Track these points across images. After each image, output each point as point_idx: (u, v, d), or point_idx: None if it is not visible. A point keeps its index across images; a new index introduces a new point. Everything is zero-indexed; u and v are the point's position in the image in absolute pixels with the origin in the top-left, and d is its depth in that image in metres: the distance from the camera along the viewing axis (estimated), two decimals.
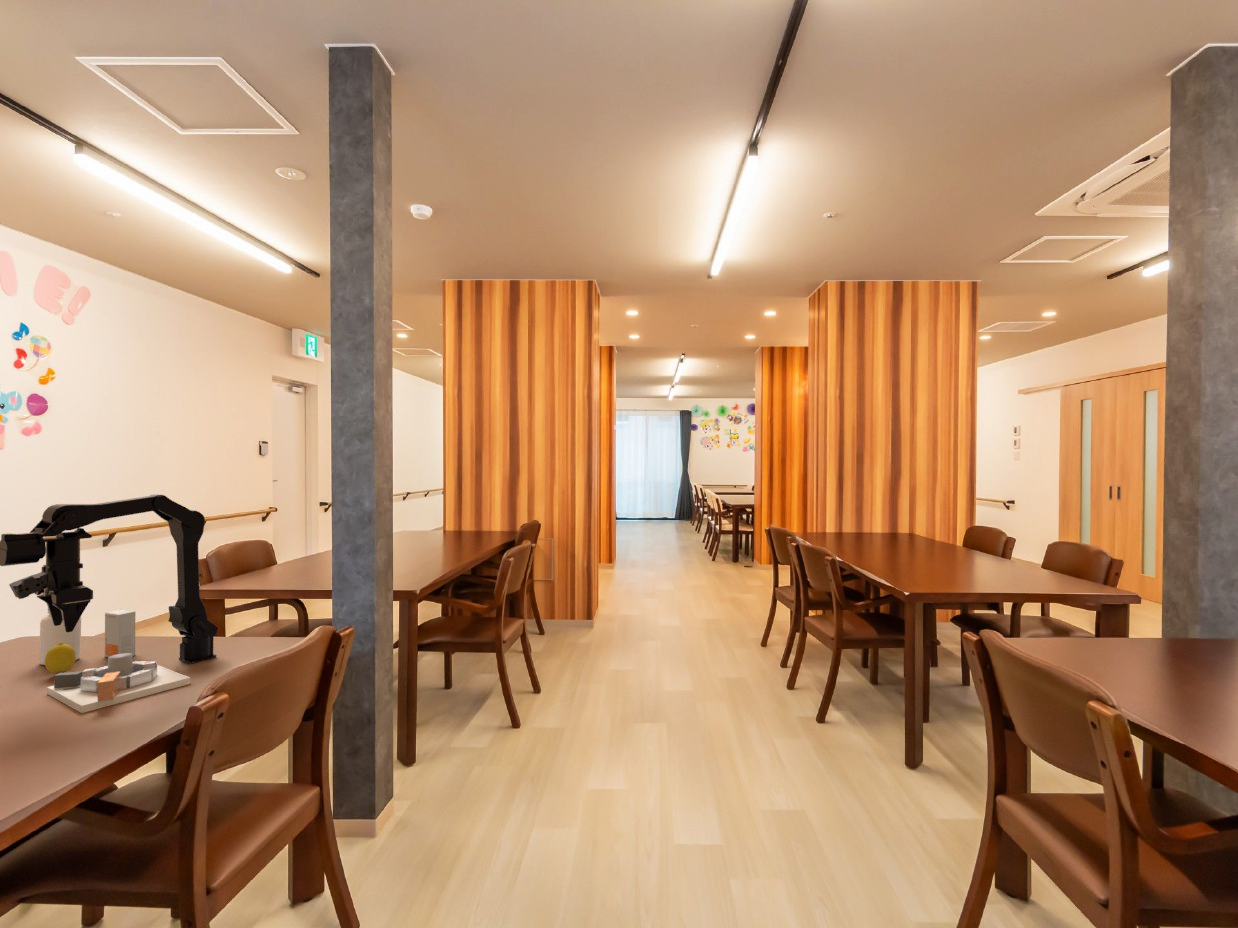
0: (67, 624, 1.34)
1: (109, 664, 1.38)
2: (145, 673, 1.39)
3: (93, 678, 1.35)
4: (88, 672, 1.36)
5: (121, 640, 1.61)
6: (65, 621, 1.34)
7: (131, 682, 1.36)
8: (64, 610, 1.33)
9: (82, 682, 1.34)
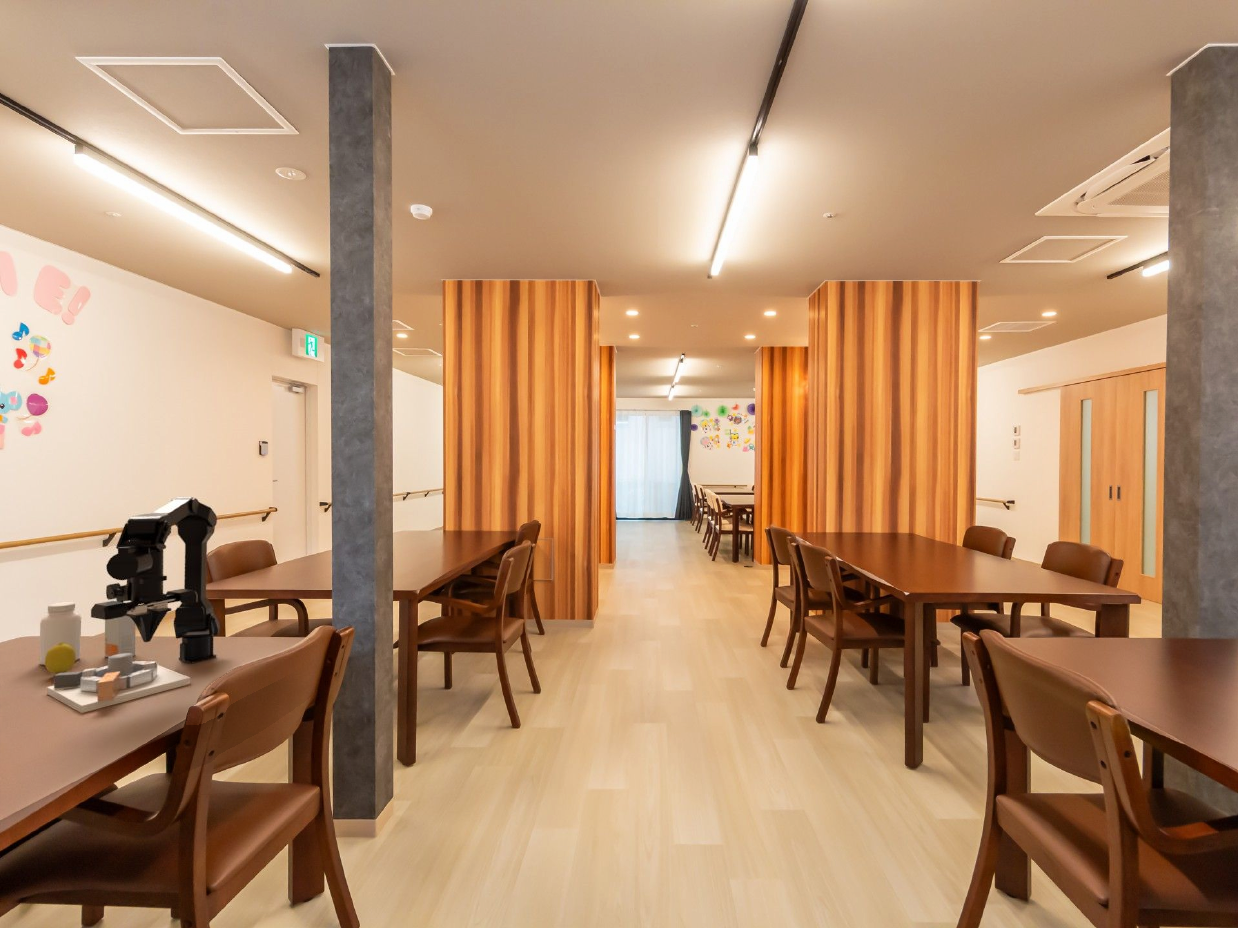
0: (141, 634, 1.35)
1: (109, 664, 1.38)
2: (145, 673, 1.39)
3: (93, 678, 1.35)
4: (88, 672, 1.36)
5: (121, 640, 1.61)
6: (140, 630, 1.35)
7: (131, 682, 1.36)
8: (133, 619, 1.35)
9: (82, 682, 1.34)
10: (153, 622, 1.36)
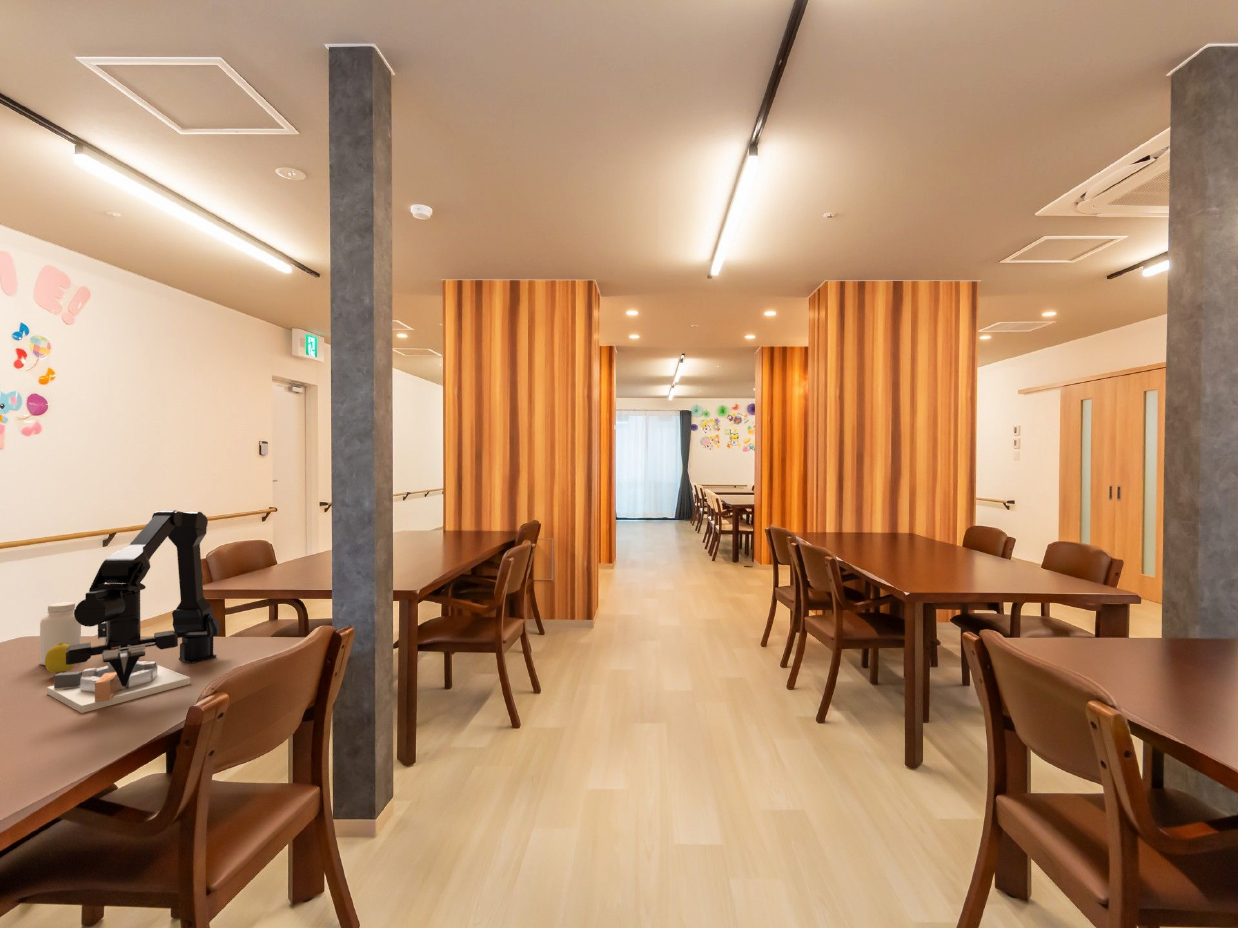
0: None
1: (109, 664, 1.38)
2: (144, 673, 1.39)
3: (92, 678, 1.35)
4: (88, 672, 1.37)
5: None
6: None
7: (130, 682, 1.36)
8: None
9: (82, 682, 1.34)
10: (126, 667, 1.32)
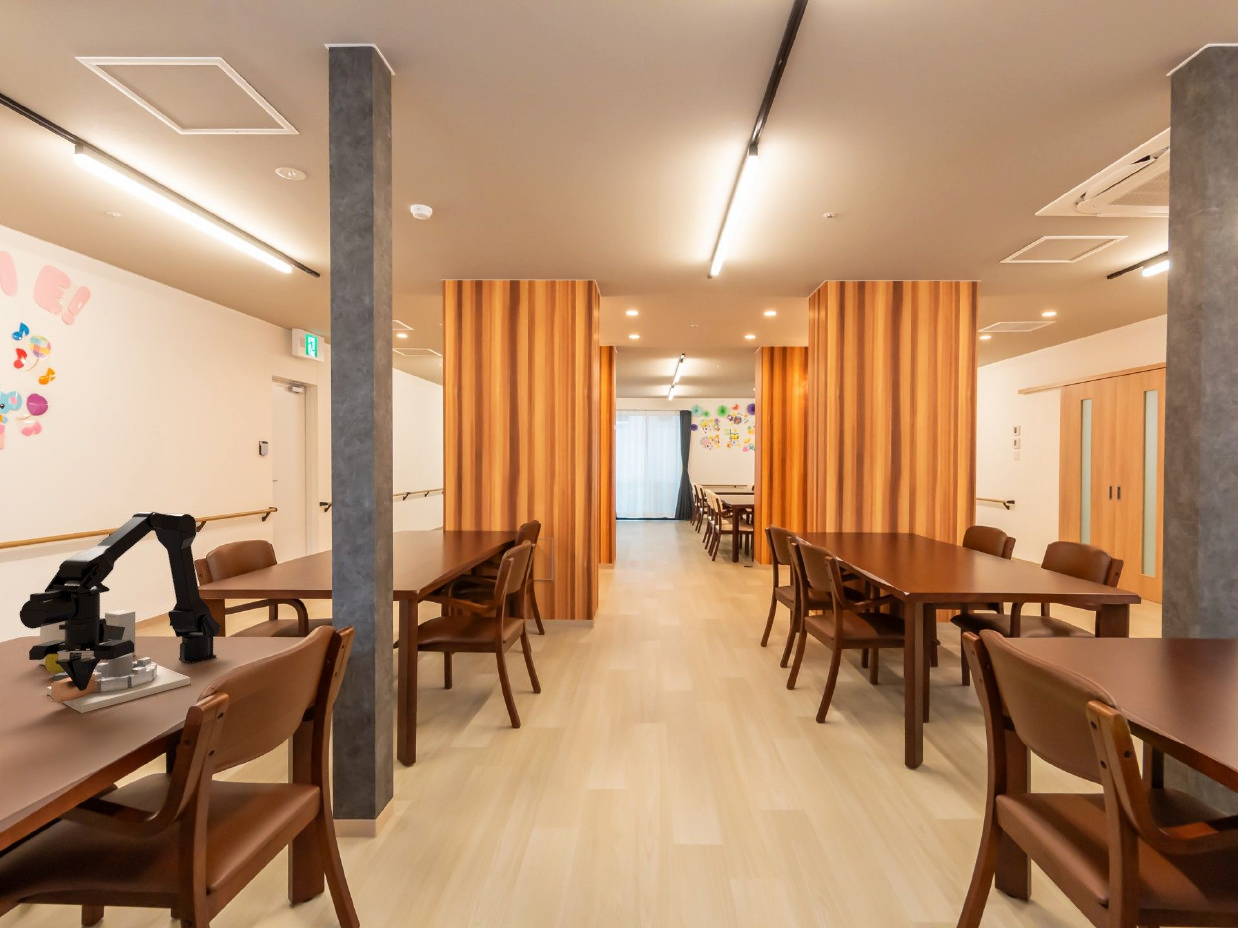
0: None
1: (109, 664, 1.38)
2: (120, 679, 1.35)
3: None
4: (98, 666, 1.40)
5: None
6: None
7: (102, 687, 1.33)
8: None
9: None
10: None
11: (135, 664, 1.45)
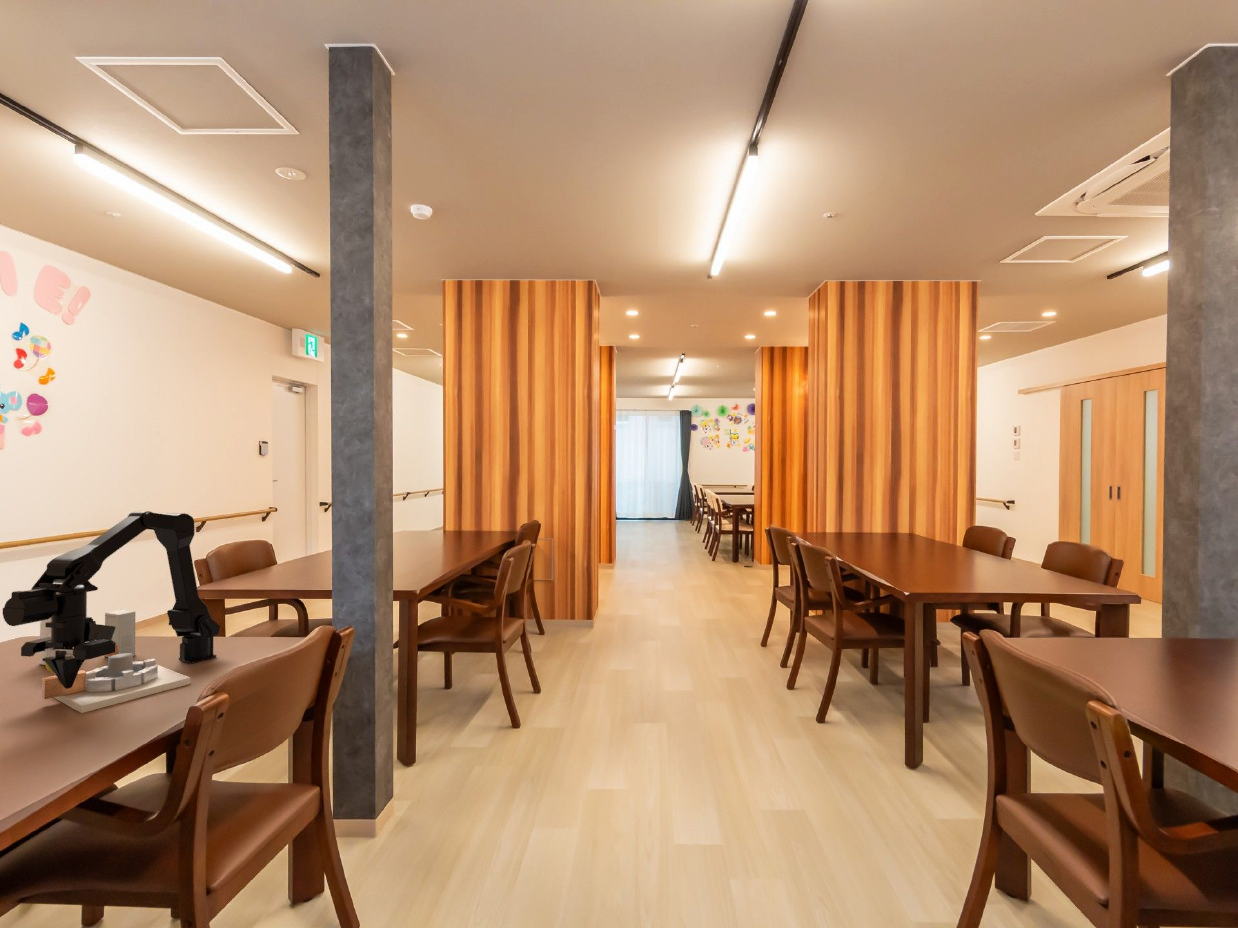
0: None
1: (109, 664, 1.38)
2: (104, 681, 1.34)
3: (94, 671, 1.39)
4: None
5: (121, 640, 1.61)
6: None
7: (89, 687, 1.33)
8: None
9: None
10: None
11: (142, 664, 1.44)
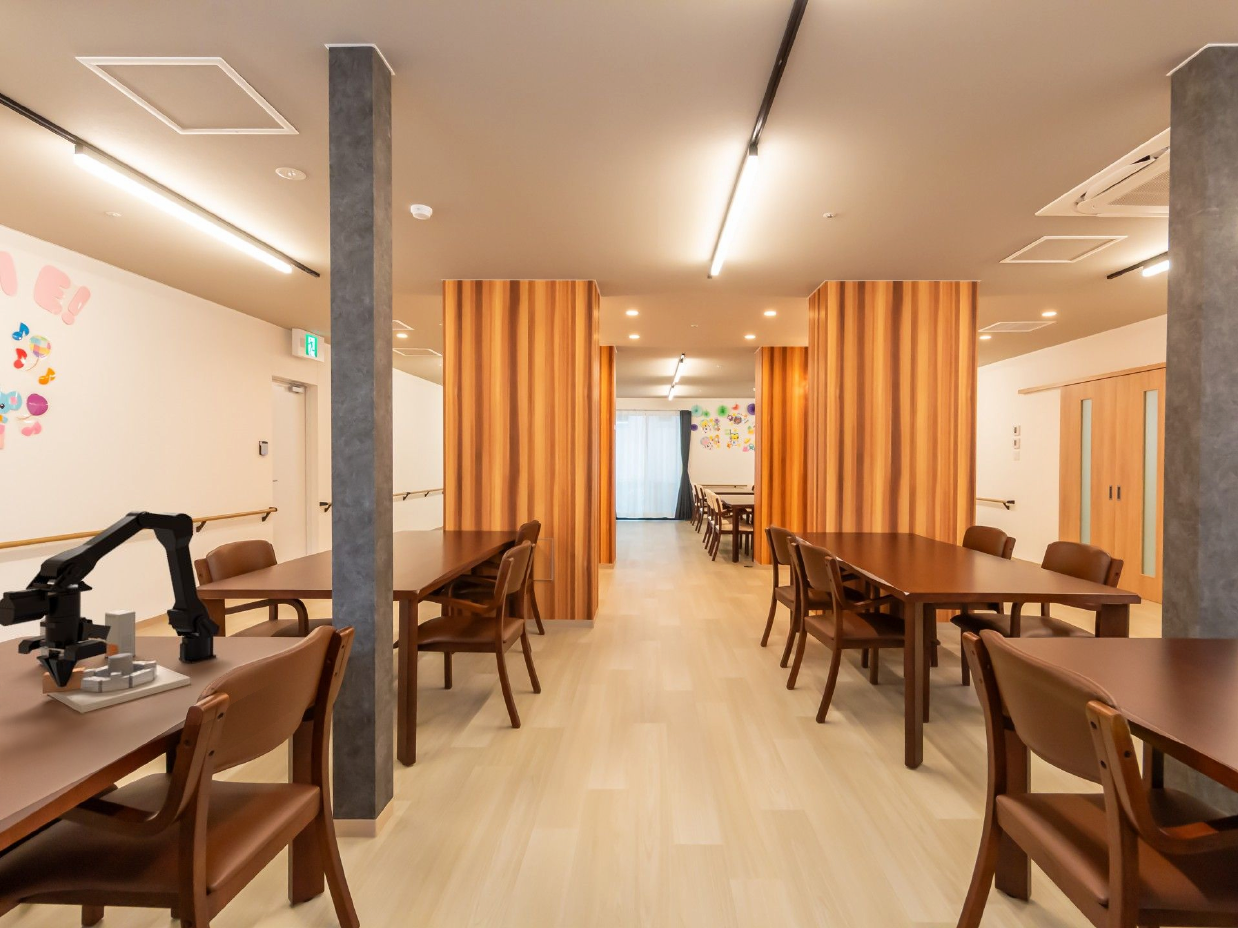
0: None
1: (109, 664, 1.38)
2: (93, 682, 1.33)
3: (101, 668, 1.41)
4: None
5: (121, 640, 1.61)
6: None
7: (82, 685, 1.34)
8: None
9: None
10: None
11: None
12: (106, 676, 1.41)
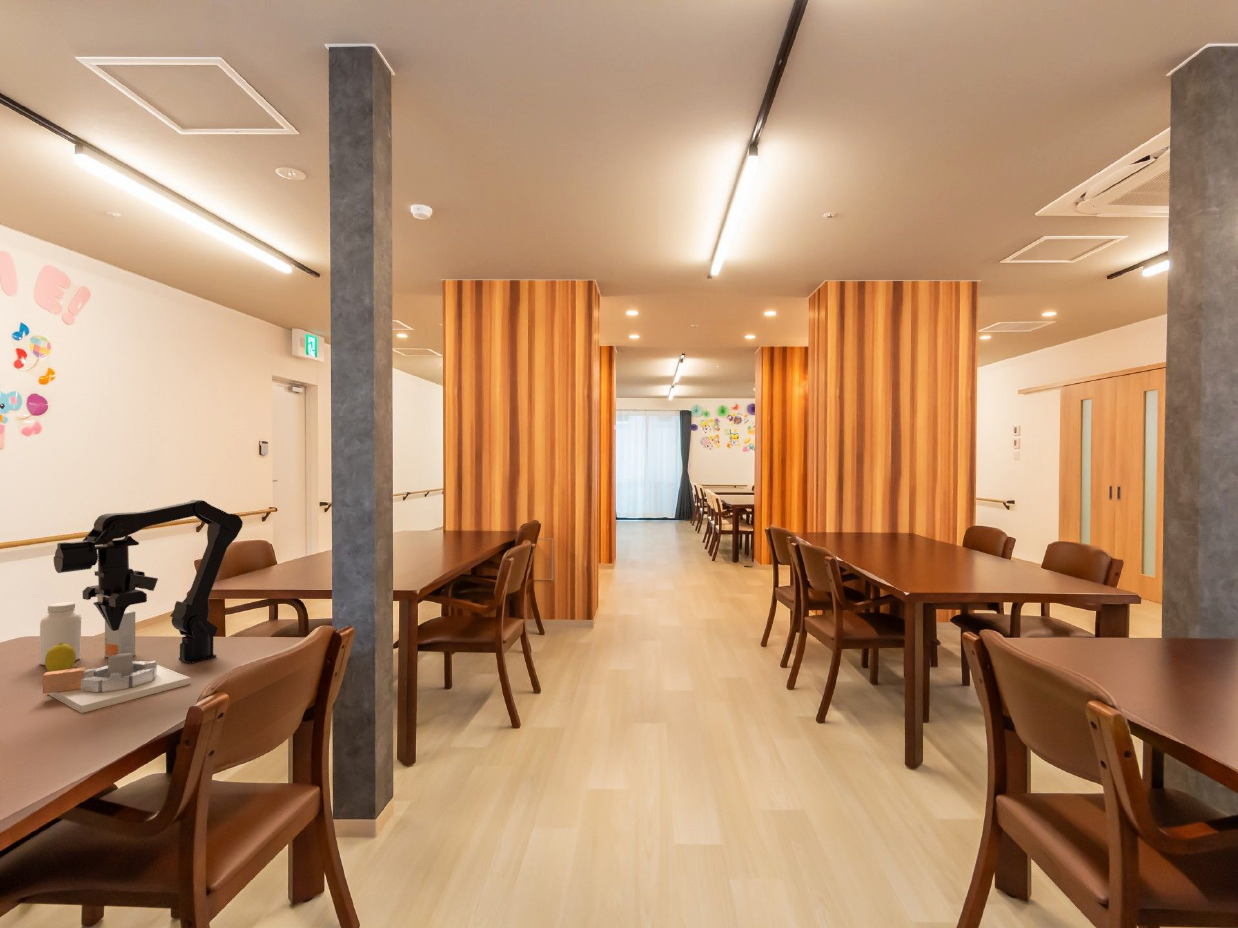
0: None
1: (109, 664, 1.38)
2: (93, 682, 1.33)
3: (101, 668, 1.41)
4: None
5: (121, 640, 1.61)
6: None
7: (82, 685, 1.34)
8: None
9: None
10: None
11: None
12: (106, 676, 1.41)
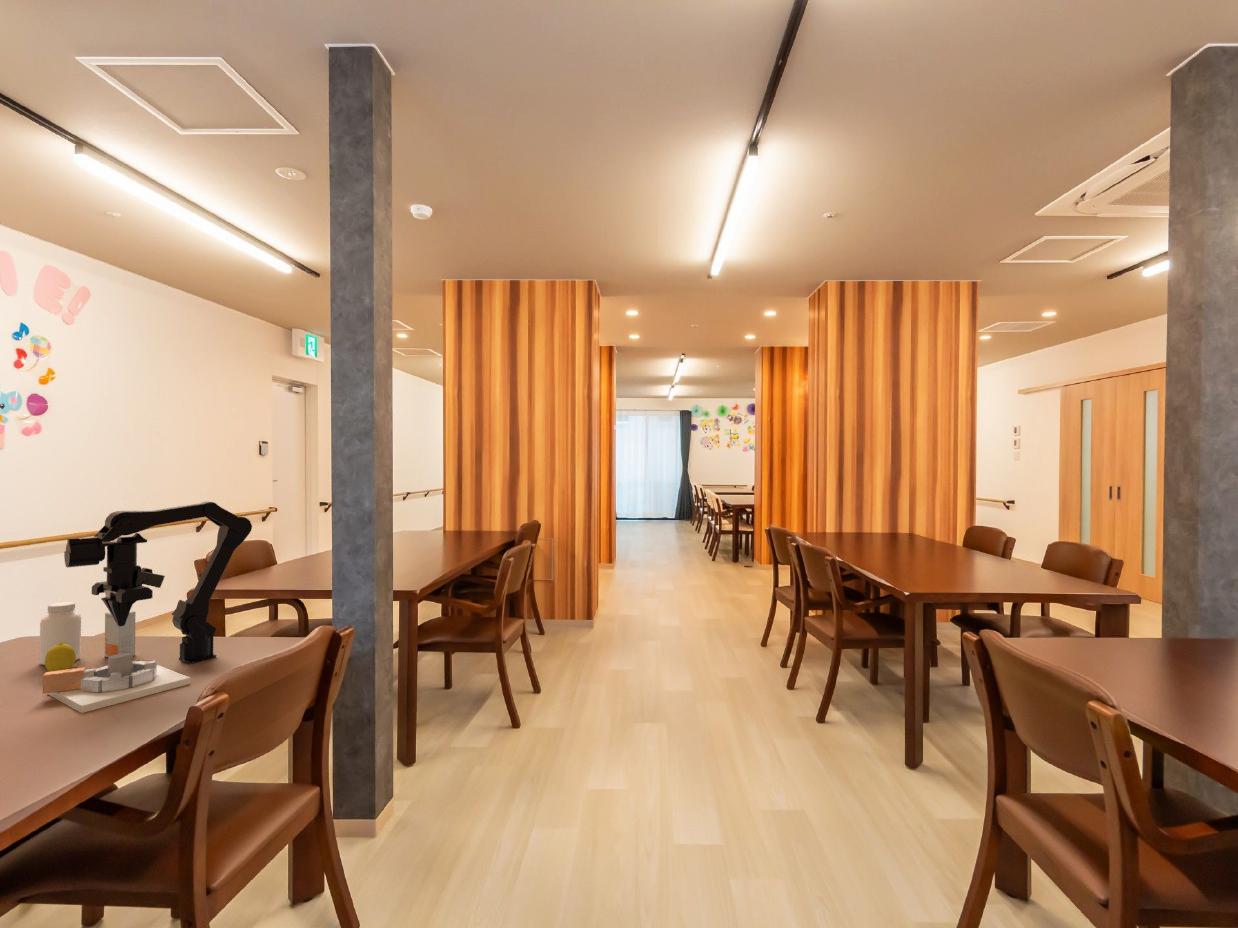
0: None
1: (109, 664, 1.38)
2: (93, 682, 1.33)
3: (101, 668, 1.41)
4: None
5: (121, 640, 1.61)
6: None
7: (82, 685, 1.34)
8: None
9: None
10: None
11: None
12: (106, 676, 1.41)
